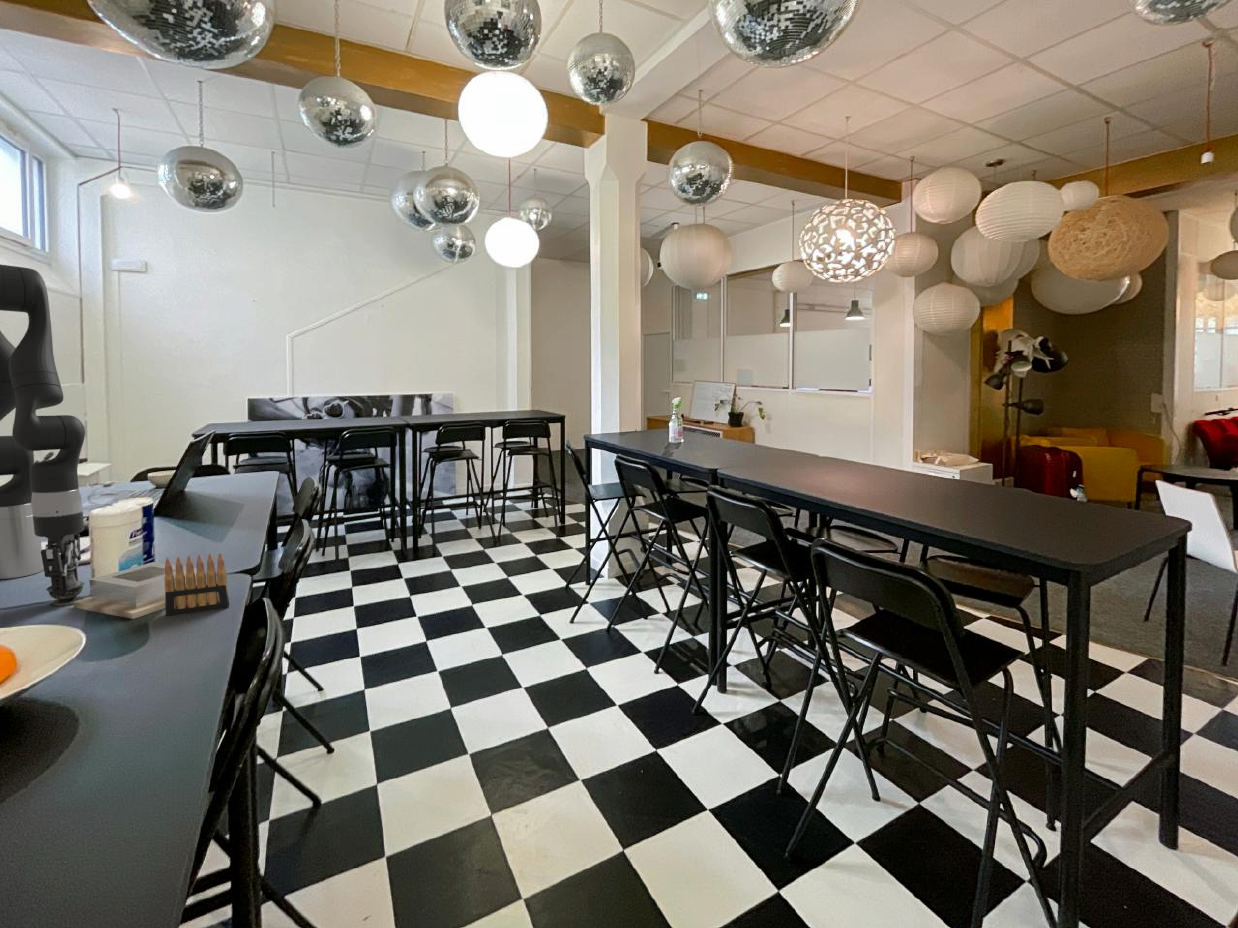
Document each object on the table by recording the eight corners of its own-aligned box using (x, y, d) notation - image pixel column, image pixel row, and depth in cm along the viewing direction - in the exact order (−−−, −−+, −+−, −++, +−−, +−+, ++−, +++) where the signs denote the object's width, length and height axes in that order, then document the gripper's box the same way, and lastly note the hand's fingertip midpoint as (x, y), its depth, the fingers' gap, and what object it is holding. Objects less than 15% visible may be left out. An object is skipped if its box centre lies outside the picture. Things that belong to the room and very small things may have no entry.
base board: (73, 607, 119) (73, 602, 119) (158, 581, 136) (158, 576, 136) (133, 619, 115) (133, 613, 115) (213, 590, 131) (213, 585, 131)
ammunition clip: (165, 616, 117) (161, 559, 115) (167, 613, 118) (162, 557, 116) (228, 608, 122) (225, 553, 120) (229, 605, 124) (226, 551, 122)
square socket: (91, 600, 121) (89, 579, 120) (155, 580, 133) (154, 561, 132) (136, 608, 117) (134, 587, 117) (198, 587, 130) (197, 568, 129)
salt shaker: (92, 599, 124) (87, 545, 122) (58, 609, 118) (52, 553, 117) (75, 595, 126) (70, 542, 124) (41, 604, 120) (35, 549, 119)
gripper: (70, 517, 115) (78, 597, 117) (92, 503, 127) (99, 576, 130) (18, 520, 111) (27, 603, 114) (46, 505, 124) (54, 580, 126)
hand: (65, 588), depth 122 cm, fingers closed on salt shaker, 6 cm apart
